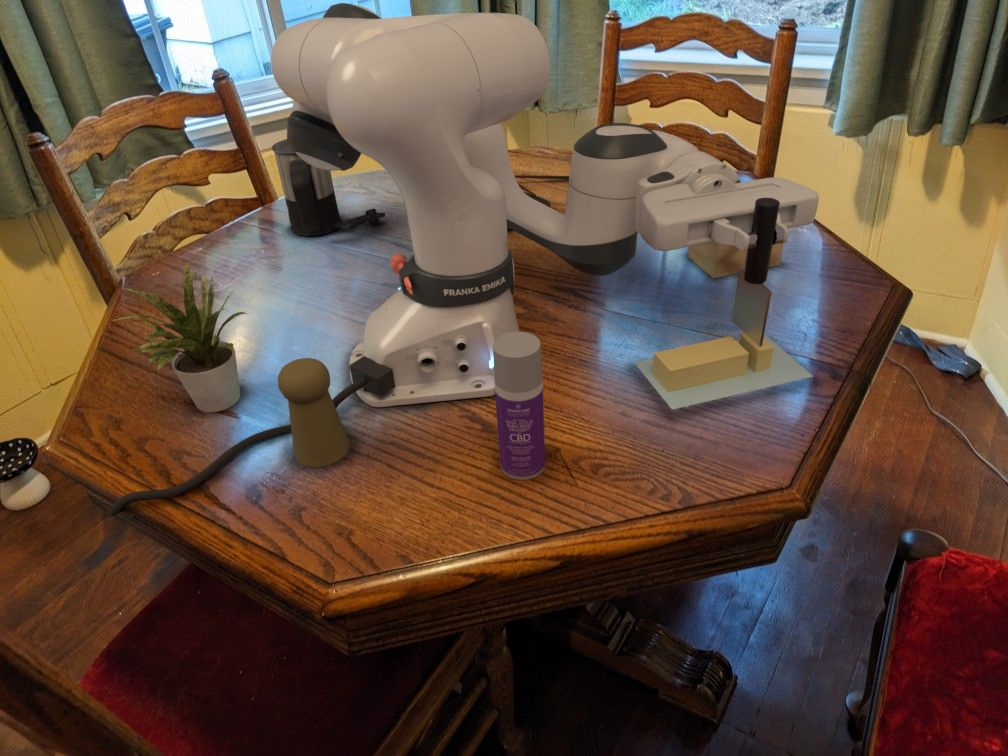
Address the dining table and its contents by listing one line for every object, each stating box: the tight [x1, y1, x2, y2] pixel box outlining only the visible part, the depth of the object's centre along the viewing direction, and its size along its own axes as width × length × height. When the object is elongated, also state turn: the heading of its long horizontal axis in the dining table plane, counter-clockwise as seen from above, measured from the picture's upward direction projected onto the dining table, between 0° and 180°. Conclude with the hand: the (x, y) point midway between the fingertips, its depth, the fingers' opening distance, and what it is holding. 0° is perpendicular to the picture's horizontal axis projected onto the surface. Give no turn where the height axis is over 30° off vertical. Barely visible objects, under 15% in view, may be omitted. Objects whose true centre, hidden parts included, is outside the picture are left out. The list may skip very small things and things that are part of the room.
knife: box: [730, 198, 780, 346], centre depth 80 cm, size 2×6×16 cm, turn 17°
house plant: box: [111, 261, 251, 413], centre depth 85 cm, size 14×14×16 cm
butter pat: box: [738, 332, 774, 372], centre depth 86 cm, size 2×4×3 cm, turn 16°
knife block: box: [687, 242, 784, 279], centre depth 109 cm, size 11×8×6 cm
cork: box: [277, 357, 351, 468], centre depth 77 cm, size 6×6×11 cm
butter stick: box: [653, 335, 749, 392], centre depth 85 cm, size 10×4×3 cm, turn 106°
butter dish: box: [633, 333, 814, 410], centre depth 87 cm, size 18×10×1 cm, turn 106°
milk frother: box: [270, 138, 386, 237], centre depth 126 cm, size 14×16×15 cm
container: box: [493, 331, 546, 481], centre depth 72 cm, size 5×5×15 cm
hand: (766, 240), depth 77 cm, fingers closed on knife, 2 cm apart
